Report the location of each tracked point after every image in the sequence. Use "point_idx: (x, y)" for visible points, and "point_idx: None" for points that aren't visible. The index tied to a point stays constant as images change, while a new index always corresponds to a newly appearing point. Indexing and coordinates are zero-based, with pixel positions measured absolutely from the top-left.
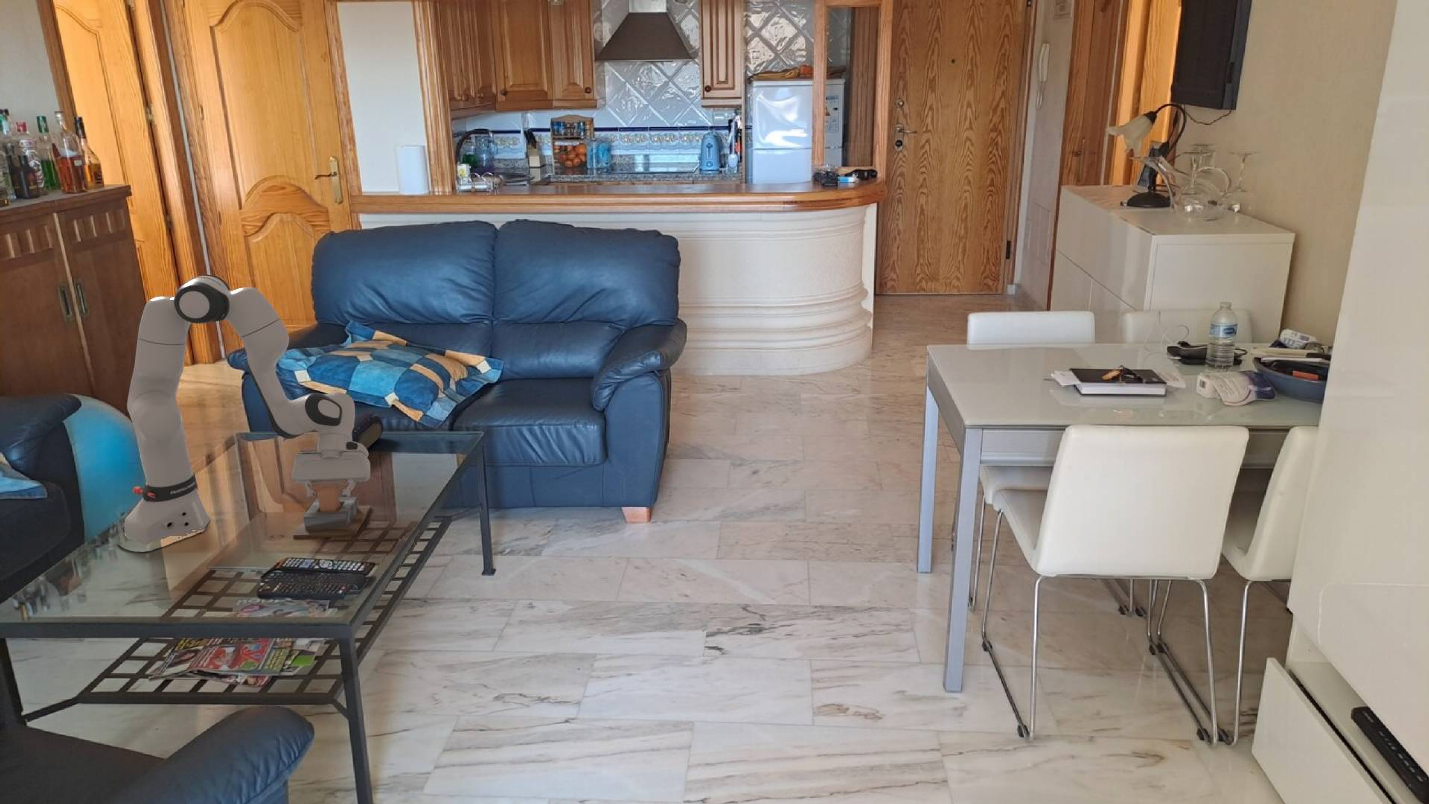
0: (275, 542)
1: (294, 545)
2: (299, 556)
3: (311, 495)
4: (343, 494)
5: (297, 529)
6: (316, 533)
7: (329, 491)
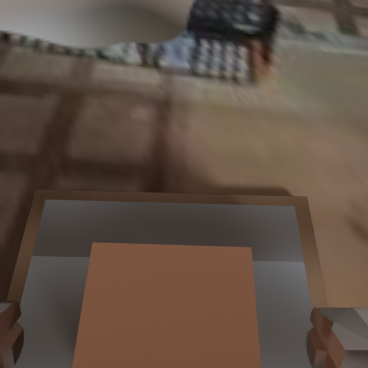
0: (357, 181)
1: (268, 152)
2: (216, 85)
3: (326, 309)
4: (3, 303)
5: (313, 246)
6: (206, 200)
7: (135, 292)
